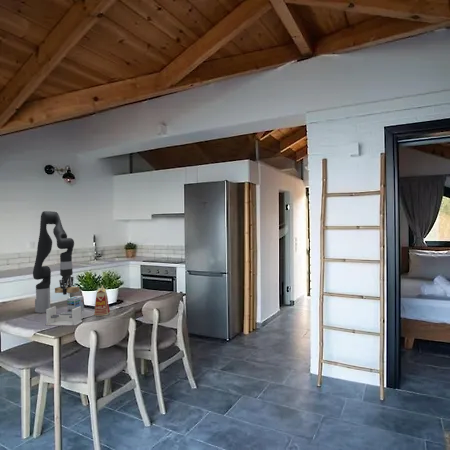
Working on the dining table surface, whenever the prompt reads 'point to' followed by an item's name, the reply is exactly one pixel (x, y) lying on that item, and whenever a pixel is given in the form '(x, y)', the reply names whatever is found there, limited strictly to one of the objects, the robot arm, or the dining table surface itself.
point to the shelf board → (69, 290)
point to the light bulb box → (75, 303)
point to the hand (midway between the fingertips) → (67, 293)
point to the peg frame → (63, 317)
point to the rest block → (65, 313)
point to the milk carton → (101, 303)
